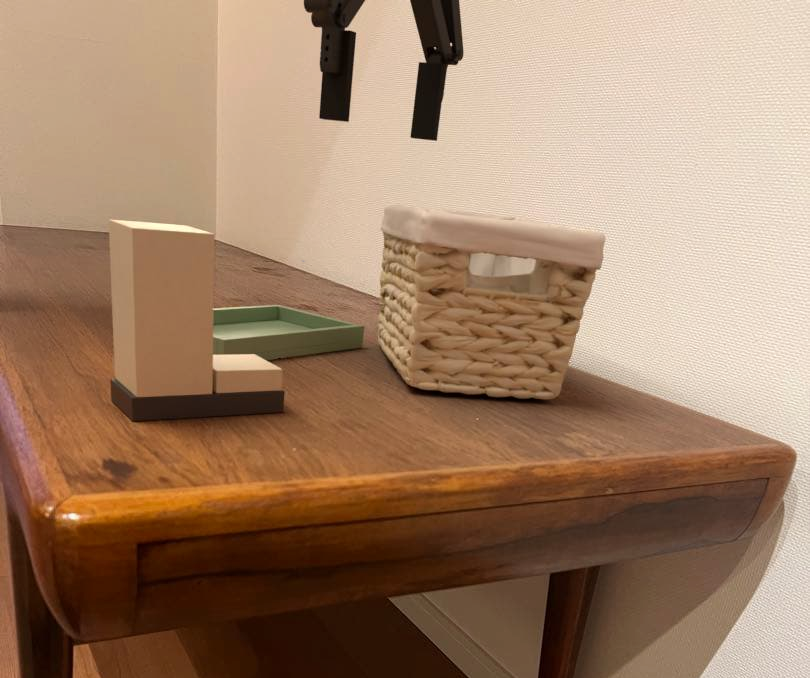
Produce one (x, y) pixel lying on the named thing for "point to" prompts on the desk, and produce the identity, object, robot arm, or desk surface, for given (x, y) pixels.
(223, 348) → the tray
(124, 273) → the boot
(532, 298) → the basket
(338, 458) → the desk surface
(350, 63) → the robot arm
